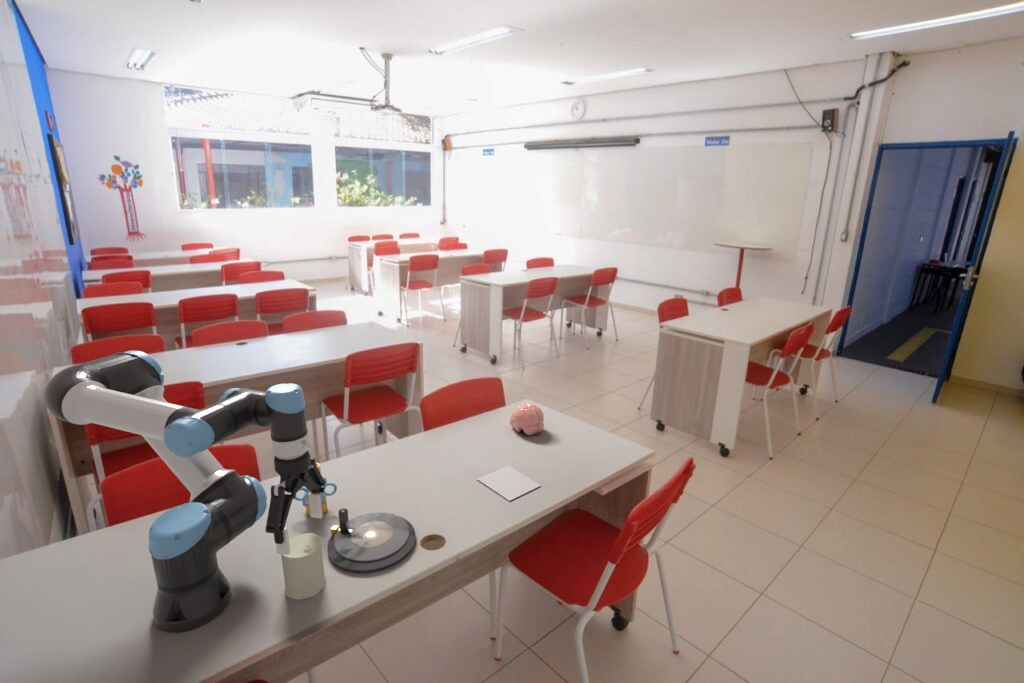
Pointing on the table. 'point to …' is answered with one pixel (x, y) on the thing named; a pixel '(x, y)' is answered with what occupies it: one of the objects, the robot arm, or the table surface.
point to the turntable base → (372, 566)
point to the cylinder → (323, 495)
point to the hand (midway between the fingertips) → (301, 534)
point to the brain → (527, 419)
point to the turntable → (370, 536)
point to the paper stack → (508, 482)
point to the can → (303, 566)
